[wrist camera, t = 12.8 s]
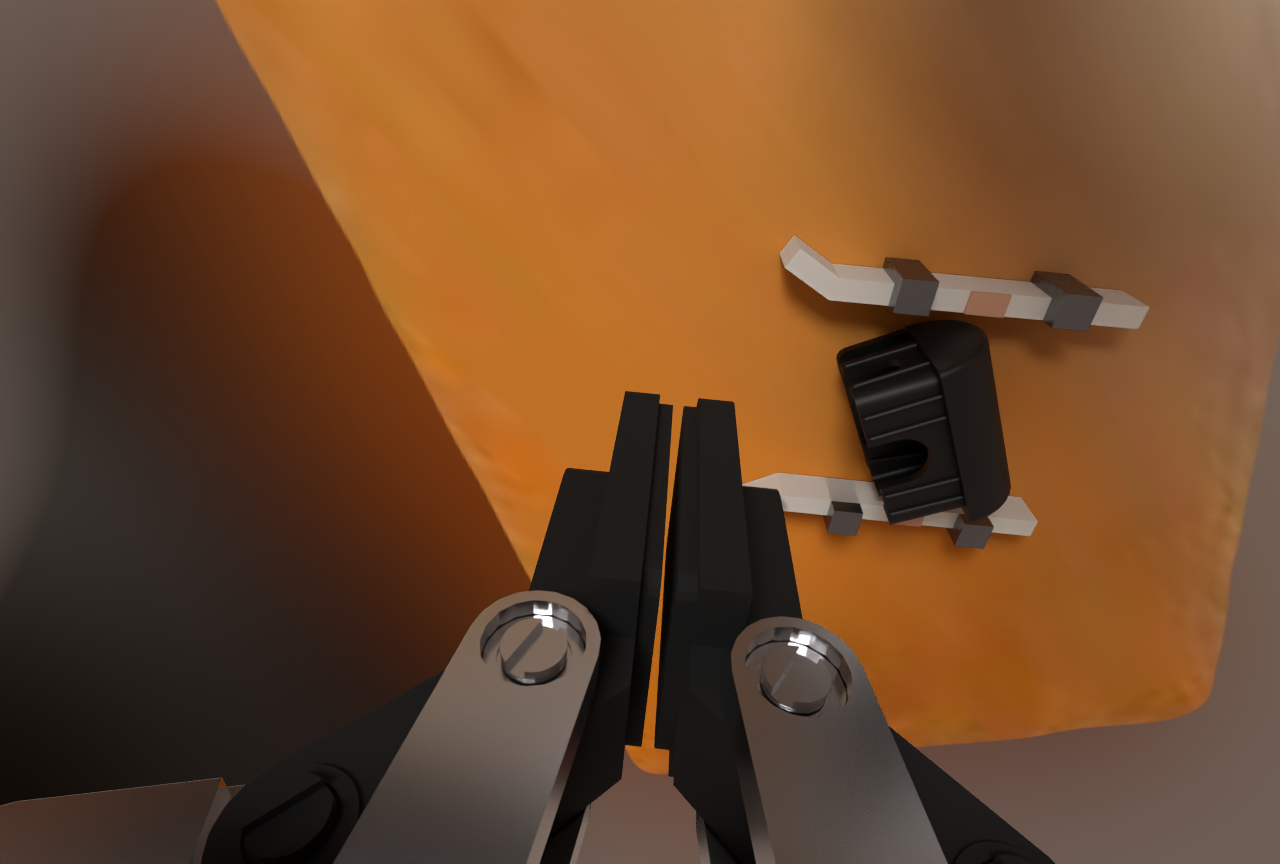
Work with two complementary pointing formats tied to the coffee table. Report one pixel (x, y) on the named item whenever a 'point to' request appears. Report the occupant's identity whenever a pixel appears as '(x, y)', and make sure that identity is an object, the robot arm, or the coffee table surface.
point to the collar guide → (917, 294)
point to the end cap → (929, 419)
